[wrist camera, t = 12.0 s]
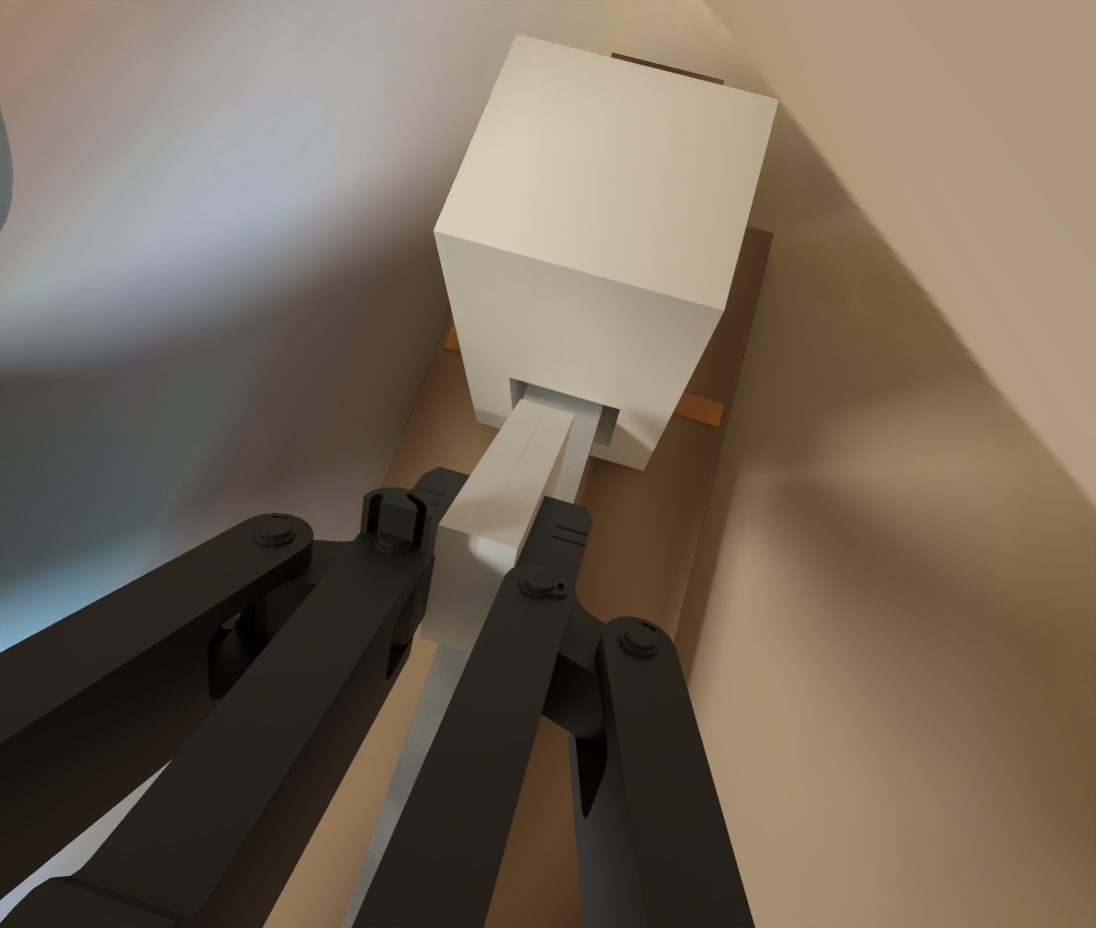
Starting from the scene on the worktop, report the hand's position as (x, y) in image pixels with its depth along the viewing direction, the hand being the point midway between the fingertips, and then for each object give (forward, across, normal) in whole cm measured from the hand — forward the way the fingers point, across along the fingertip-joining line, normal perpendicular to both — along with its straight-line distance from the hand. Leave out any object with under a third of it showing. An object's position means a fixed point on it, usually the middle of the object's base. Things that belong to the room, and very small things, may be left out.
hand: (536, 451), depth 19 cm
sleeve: (+9, 0, -1) cm, 9 cm away
